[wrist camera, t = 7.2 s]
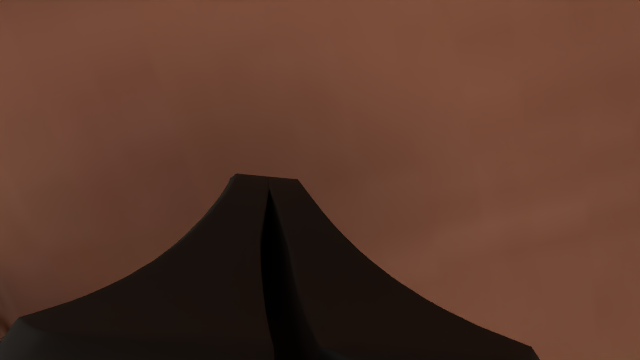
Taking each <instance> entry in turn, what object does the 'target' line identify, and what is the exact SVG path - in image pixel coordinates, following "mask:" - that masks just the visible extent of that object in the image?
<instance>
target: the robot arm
mask: <svg viewBox="0 0 640 360" xmlns="http://www.w3.org/2000/svg"><path fill="white" fill-rule="evenodd" d="M0 360H540V359H539V358H538V356H537V354H536V353H535V352H534V350H533V349H532V347H530V346H528V345H525V344H523V343H520V342H518V341H515V340H513V339H510V338H508V337H505V336H502V335H500V334H497V333H495V332H492V331H490V330H487V329H485V328H482V327H480V326H478V325H475V324H473V323H471V322H469V321H467V320H465V319H463V318H461V317H459V316H457V315H455V314H453V313H451V312H449V311H447V310H445V309H443V308H441V307H439V306H437V305H436V304H434V303H432V302H430V301H428V300H427V299H425V298H423V297H422V296H420V295H419V294H417V293H416V292H414V291H412V290H411V289H409V288H408V287H406V286H404V285H403V284H401V283H400V282H398V281H397V280H396V279H394V278H393V277H391V276H390V275H389V274H387V273H386V272H385V271H384V270H382V269H381V268H380V267H378V266H377V265H376V264H375V263H373V262H372V261H371V260H370V259H368V258H367V257H366V256H365V255H364V254H363V253H361V252H360V251H359V250H358V249H357V248H356V247H355V246H354V245H353V244H352V243H351V242H350V241H349V240H348V239H347V238H346V237H345V236H344V235H343V234H342V233H341V232H340V231H339V230H338V229H337V228H336V227H335V226H334V224H333V223H332V222H331V221H330V220H329V219H328V218H327V216H326V215H325V214H324V213H323V212H322V210H321V209H320V208H319V207H318V205H317V204H316V203H315V201H314V200H313V199H312V197H311V196H310V195H309V193H308V192H307V191H306V190H305V188H304V187H303V186H302V184H301V183H300V182H299V181H298V179H287V178H277V177H266V176H256V175H246V174H235V175H234V176H233V177H231V178H230V181H229V183H228V185H227V186H226V188H225V190H224V191H223V193H222V194H221V196H220V197H219V198H218V200H217V201H216V202H215V203H214V205H213V206H212V207H211V208H210V209H209V211H208V212H207V213H206V214H205V215H204V217H203V218H202V219H201V220H200V221H199V222H198V223H197V224H196V225H195V226H194V227H193V228H192V229H191V230H190V231H189V232H188V233H187V234H186V235H185V236H184V237H183V238H181V239H180V240H179V241H178V242H177V243H176V244H175V245H173V246H172V247H171V248H170V249H168V250H167V251H166V252H164V253H163V254H162V255H161V256H159V257H158V258H157V259H155V260H154V261H152V262H151V263H149V264H147V265H145V266H144V267H142V268H140V269H139V270H137V271H135V272H134V273H132V274H130V275H129V276H127V277H125V278H123V279H121V280H119V281H117V282H115V283H113V284H111V285H109V286H107V287H105V288H102V289H100V290H98V291H95V292H93V293H90V294H88V295H86V296H83V297H81V298H78V299H75V300H73V301H70V302H67V303H64V304H61V305H58V306H54V307H51V308H48V309H45V310H42V311H39V312H36V313H33V314H29V315H26V316H22V317H19V318H18V319H17V320H16V322H15V323H14V324H13V326H12V327H11V328H10V329H9V331H8V332H7V333H6V335H5V336H4V337H3V339H2V340H1V341H0Z"/></svg>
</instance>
